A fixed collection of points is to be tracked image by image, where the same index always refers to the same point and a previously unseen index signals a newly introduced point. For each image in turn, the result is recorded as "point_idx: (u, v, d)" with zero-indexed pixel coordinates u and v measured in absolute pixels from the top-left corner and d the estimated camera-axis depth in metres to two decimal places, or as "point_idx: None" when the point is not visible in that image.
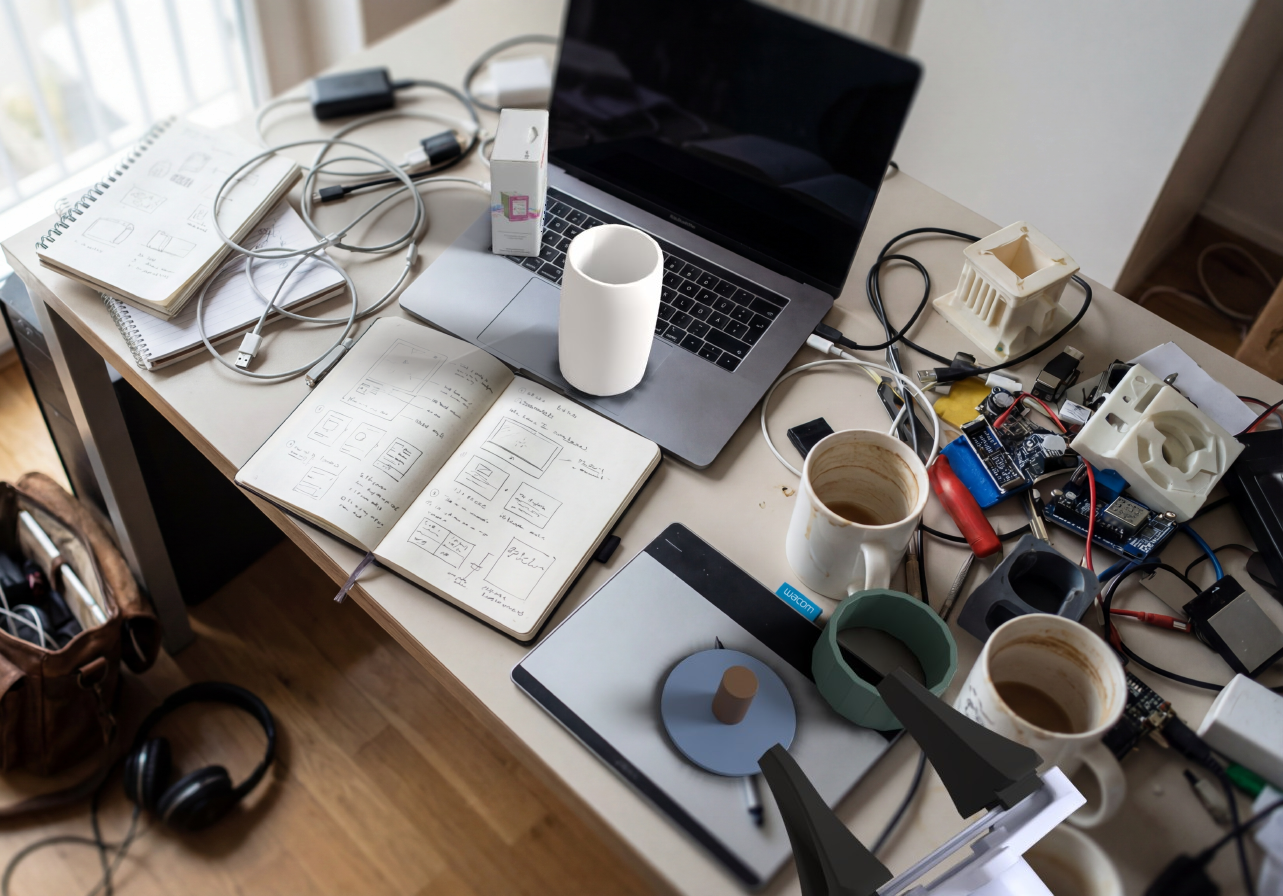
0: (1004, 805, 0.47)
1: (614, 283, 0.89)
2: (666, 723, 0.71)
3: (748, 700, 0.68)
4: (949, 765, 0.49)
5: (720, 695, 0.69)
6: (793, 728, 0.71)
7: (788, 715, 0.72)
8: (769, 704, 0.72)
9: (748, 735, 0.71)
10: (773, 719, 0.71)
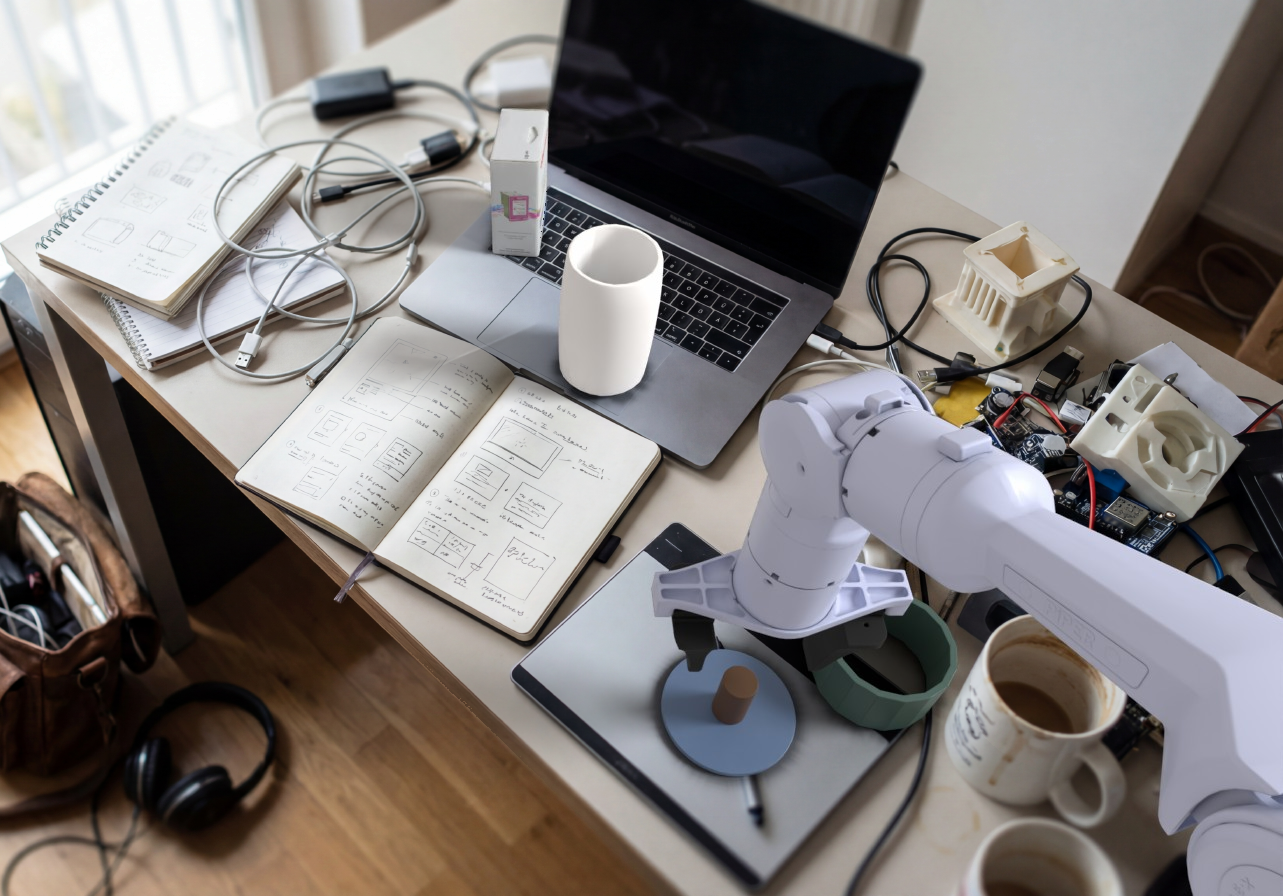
0: None
1: (614, 283, 0.89)
2: (666, 723, 0.71)
3: (748, 700, 0.68)
4: (829, 629, 0.61)
5: (720, 695, 0.69)
6: (793, 728, 0.71)
7: (788, 715, 0.72)
8: (769, 704, 0.72)
9: (748, 735, 0.71)
10: (773, 719, 0.71)
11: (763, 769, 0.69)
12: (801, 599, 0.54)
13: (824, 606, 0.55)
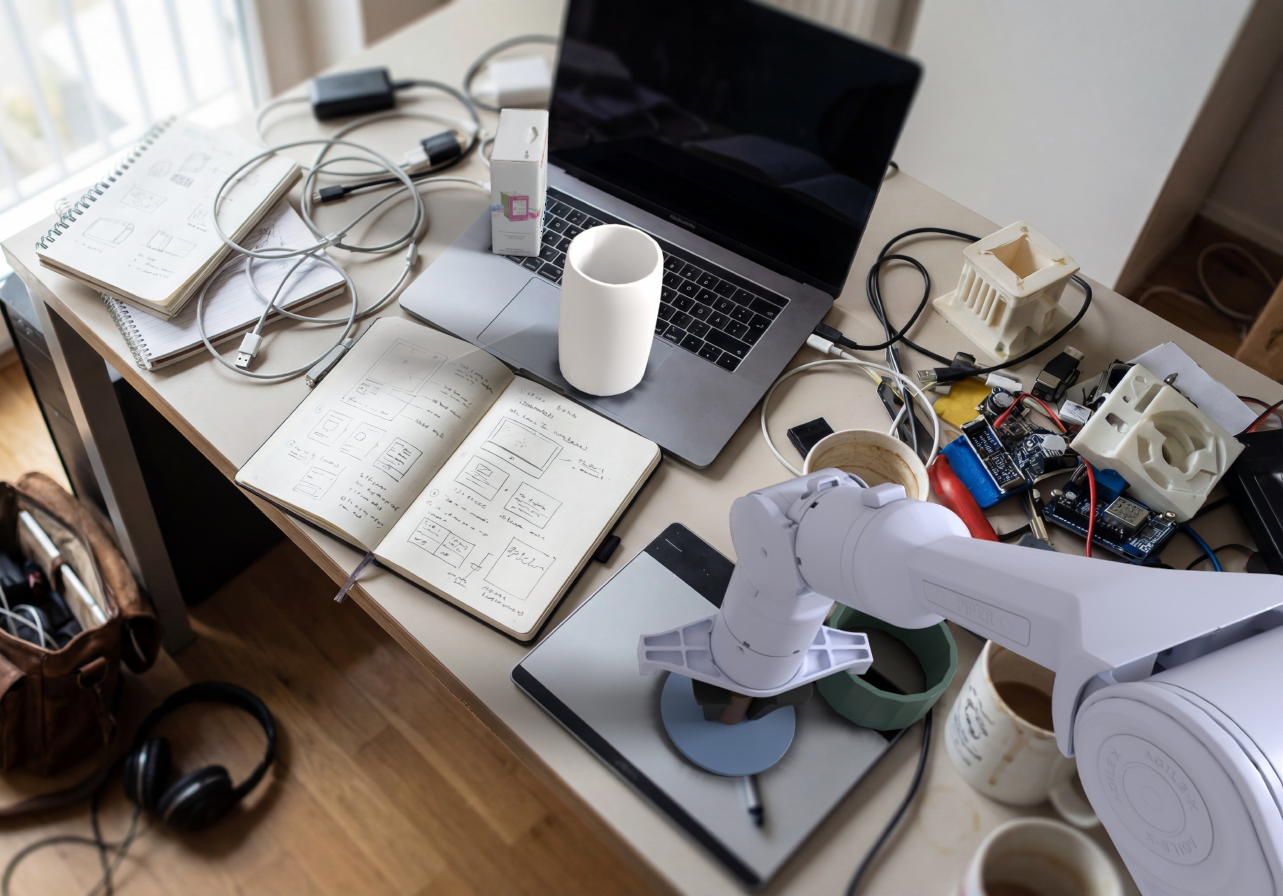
0: None
1: (614, 283, 0.89)
2: (666, 723, 0.71)
3: (748, 700, 0.68)
4: None
5: None
6: (793, 728, 0.71)
7: (788, 715, 0.72)
8: None
9: (748, 735, 0.71)
10: (773, 719, 0.71)
11: (763, 769, 0.69)
12: (770, 665, 0.60)
13: (791, 669, 0.61)
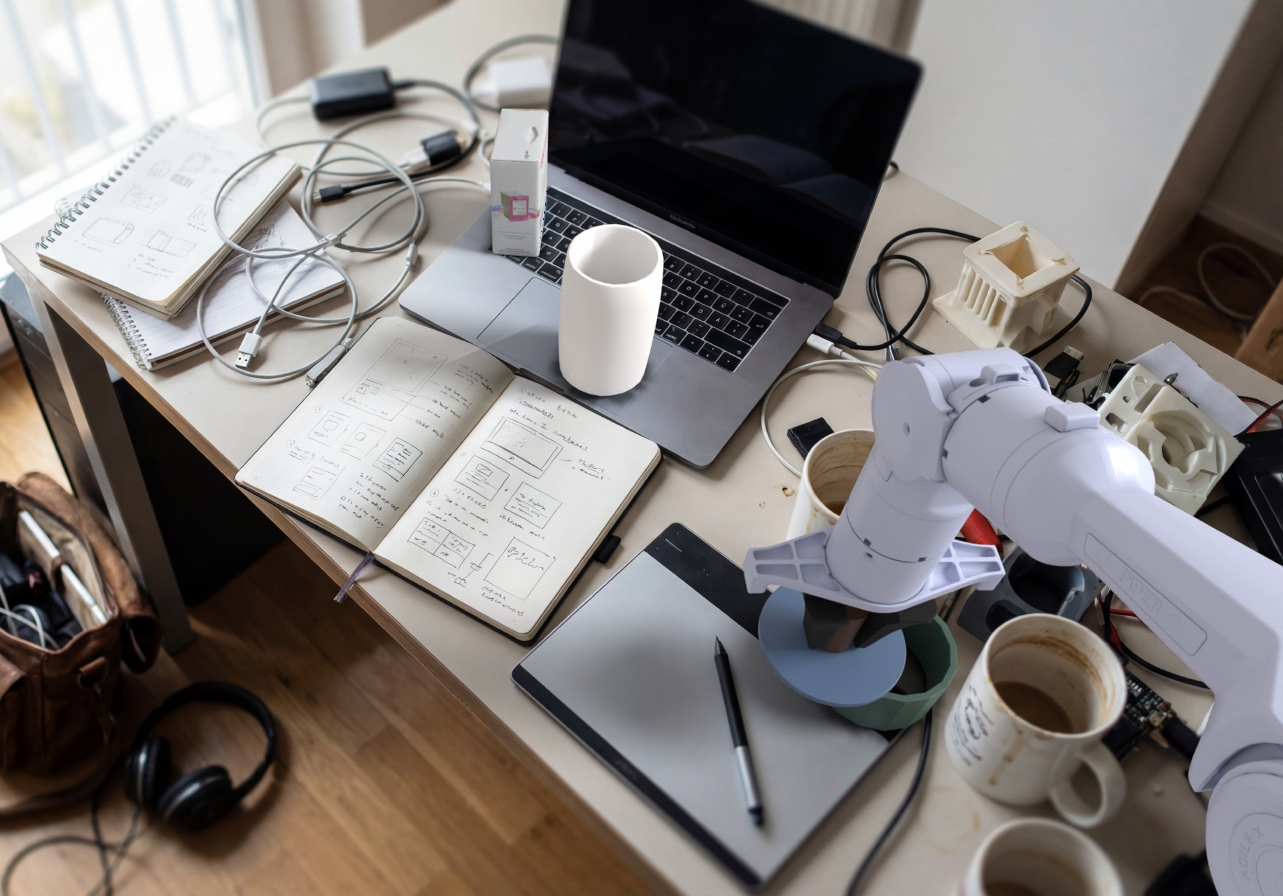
0: None
1: (614, 283, 0.89)
2: (766, 652, 0.66)
3: (860, 623, 0.63)
4: None
5: None
6: (904, 656, 0.66)
7: (897, 643, 0.66)
8: None
9: (855, 664, 0.65)
10: (881, 647, 0.66)
11: (874, 699, 0.64)
12: (902, 573, 0.55)
13: (922, 580, 0.56)
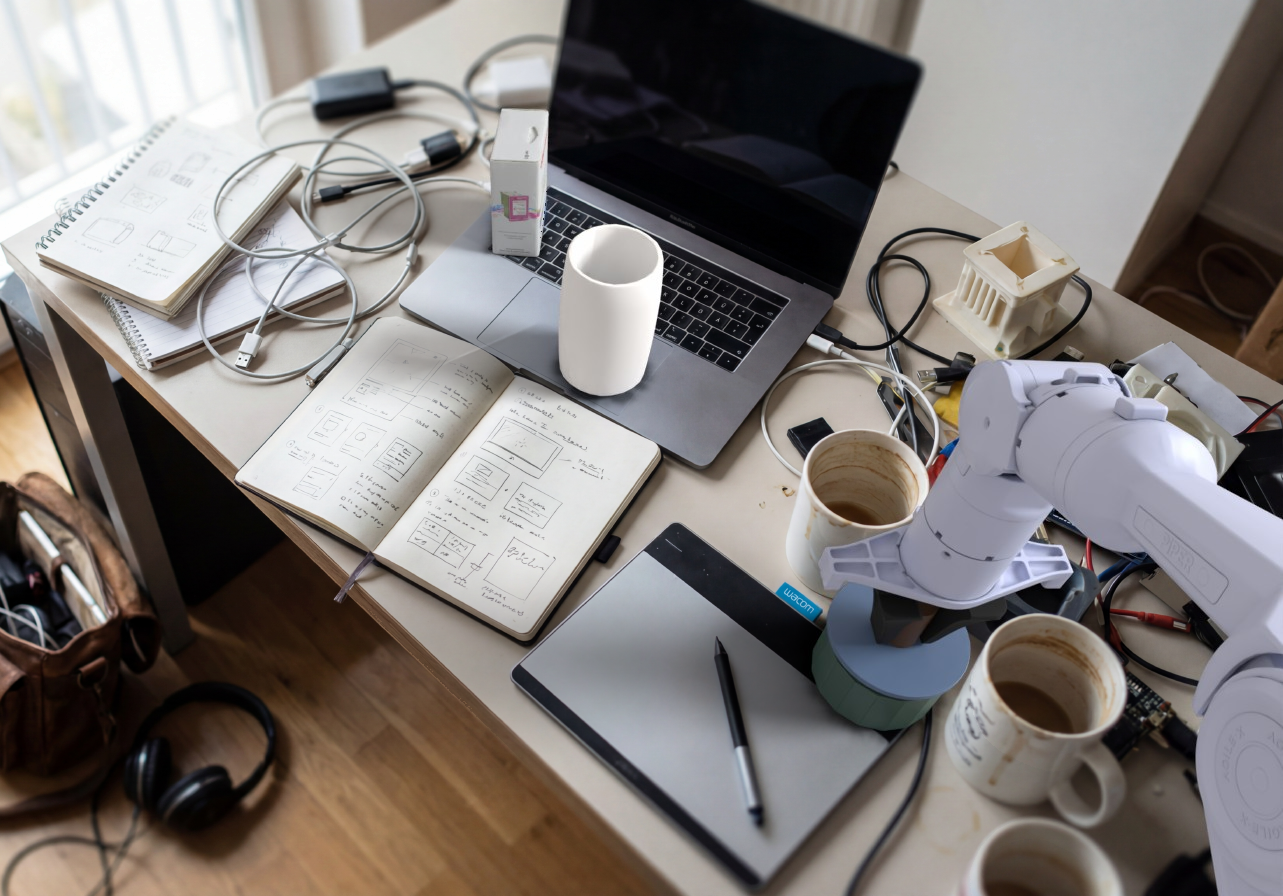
0: None
1: (614, 283, 0.89)
2: (835, 647, 0.68)
3: (929, 619, 0.65)
4: None
5: None
6: (968, 651, 0.68)
7: (962, 638, 0.69)
8: None
9: (922, 658, 0.68)
10: (946, 642, 0.69)
11: (941, 692, 0.66)
12: (978, 571, 0.57)
13: (996, 577, 0.58)
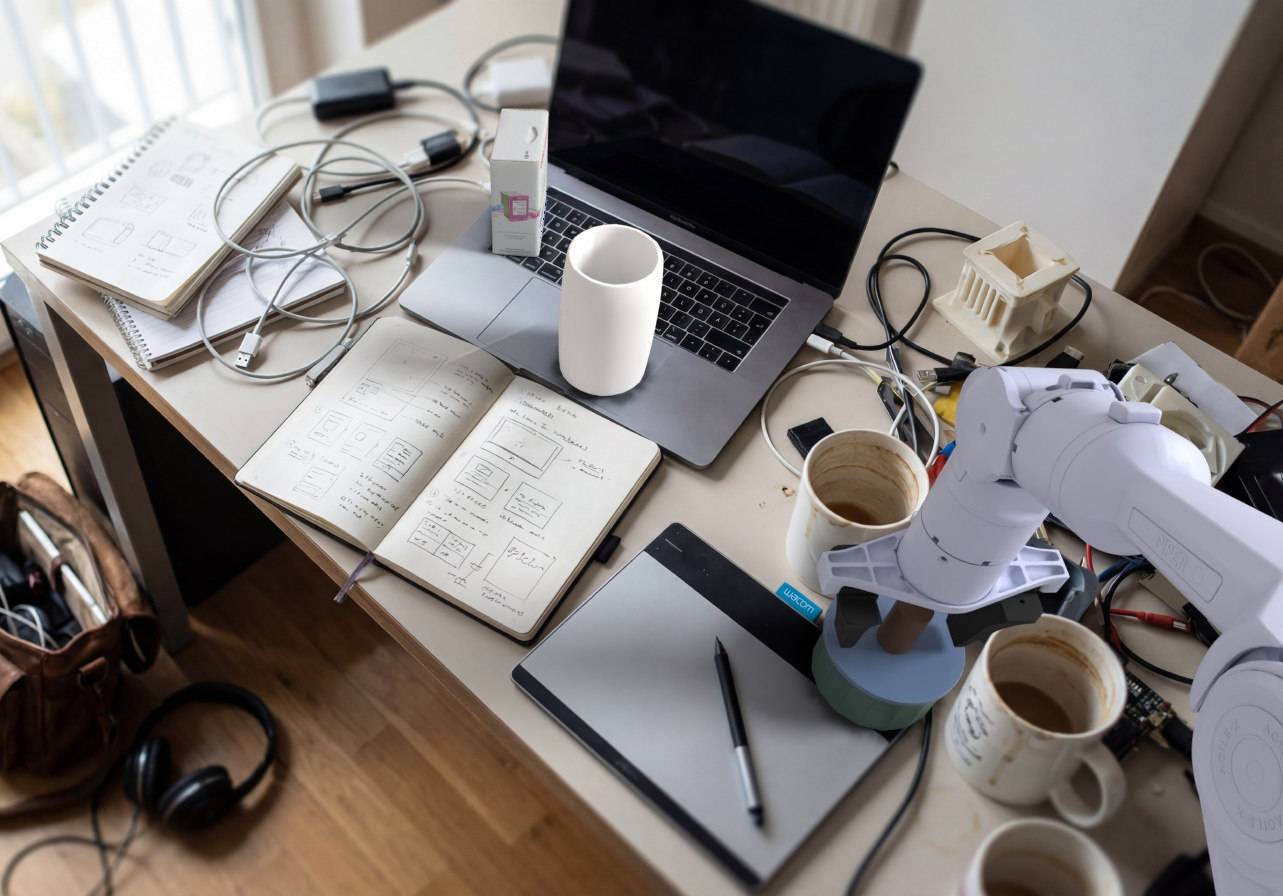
0: None
1: (614, 283, 0.89)
2: (832, 653, 0.69)
3: (924, 626, 0.66)
4: (982, 606, 0.65)
5: (891, 622, 0.67)
6: (963, 658, 0.69)
7: None
8: (936, 634, 0.70)
9: (917, 665, 0.69)
10: (941, 649, 0.69)
11: (936, 698, 0.67)
12: (975, 575, 0.58)
13: (993, 582, 0.59)
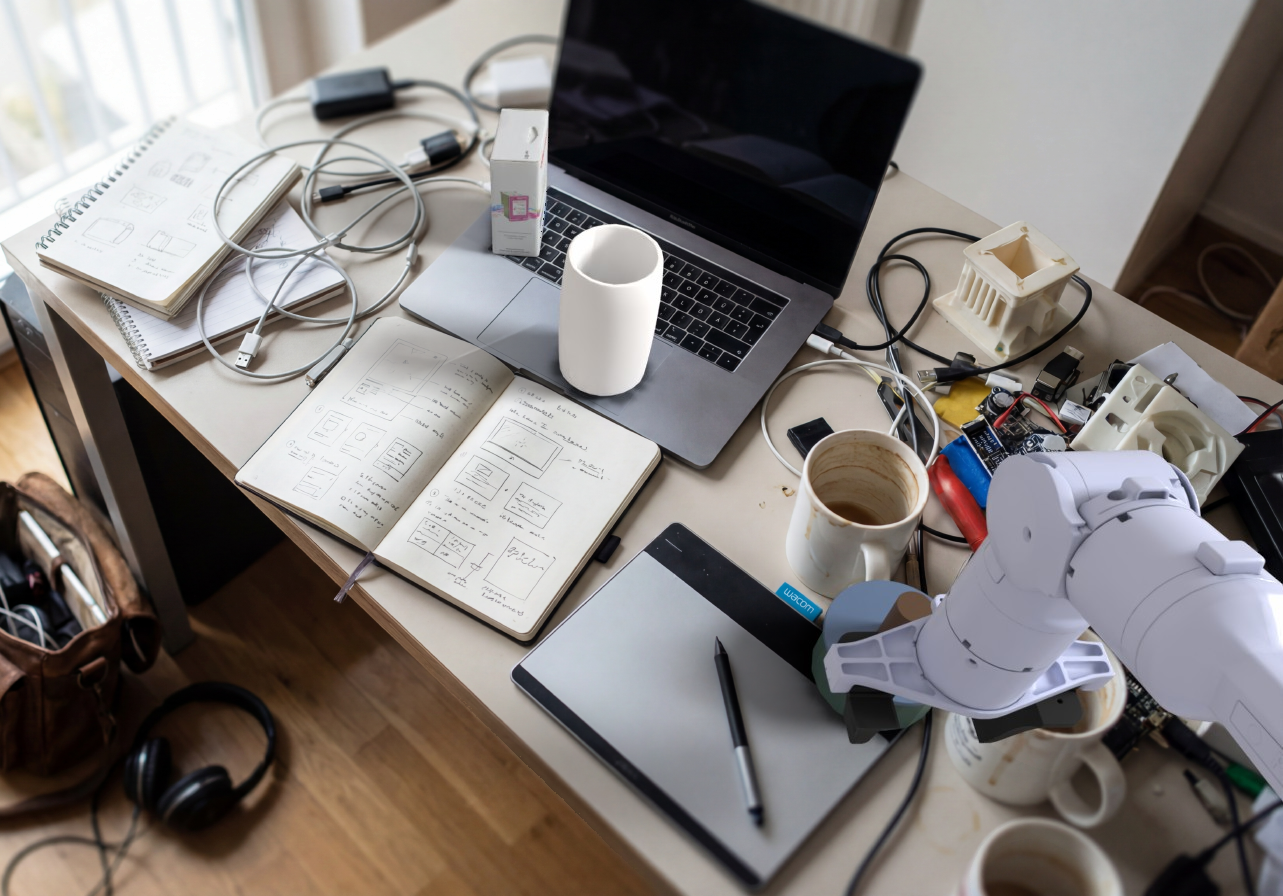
0: None
1: (614, 283, 0.89)
2: None
3: None
4: None
5: (891, 622, 0.67)
6: None
7: None
8: None
9: None
10: None
11: None
12: (1009, 681, 0.50)
13: (1029, 686, 0.51)
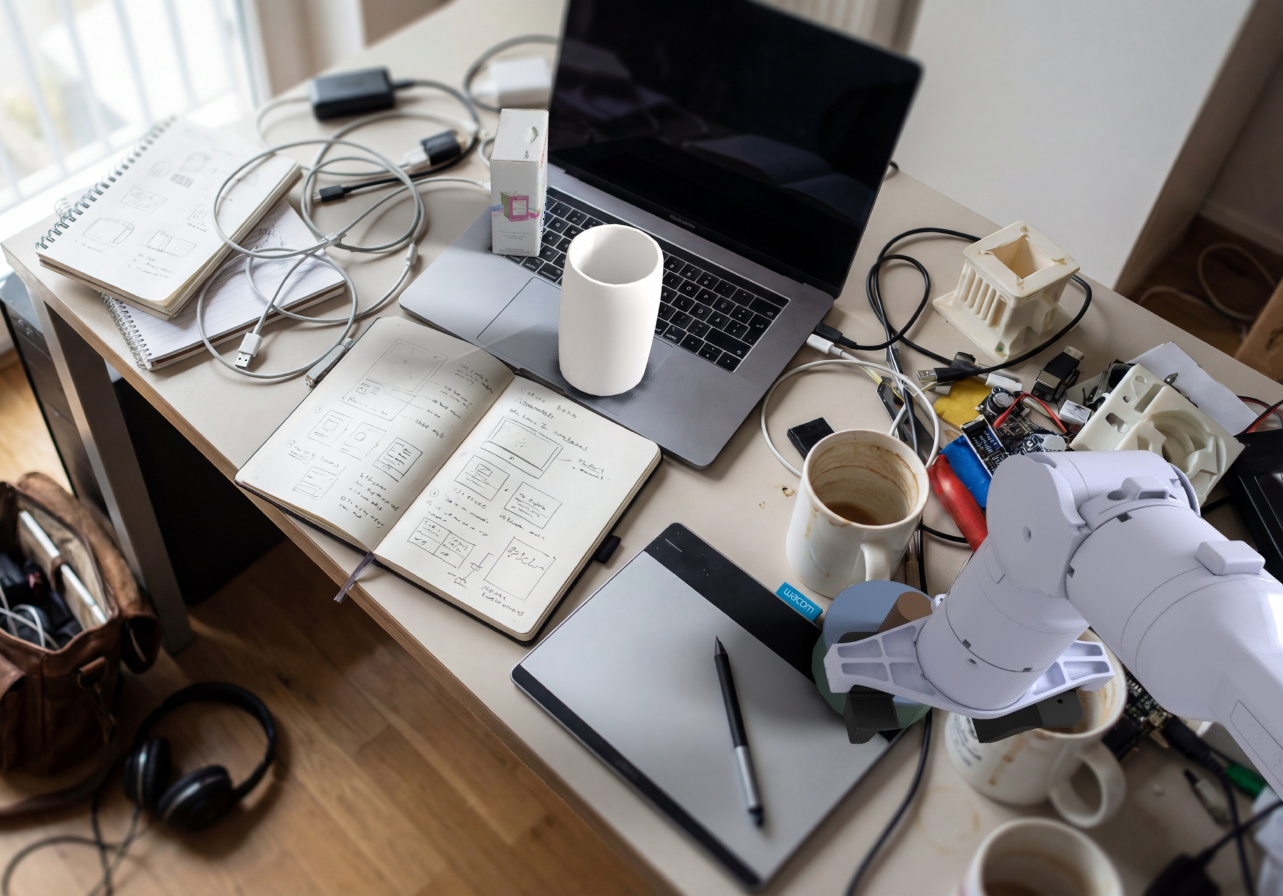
0: None
1: (614, 283, 0.89)
2: None
3: None
4: None
5: (891, 622, 0.67)
6: None
7: None
8: None
9: None
10: None
11: None
12: (1009, 681, 0.50)
13: (1029, 686, 0.51)
